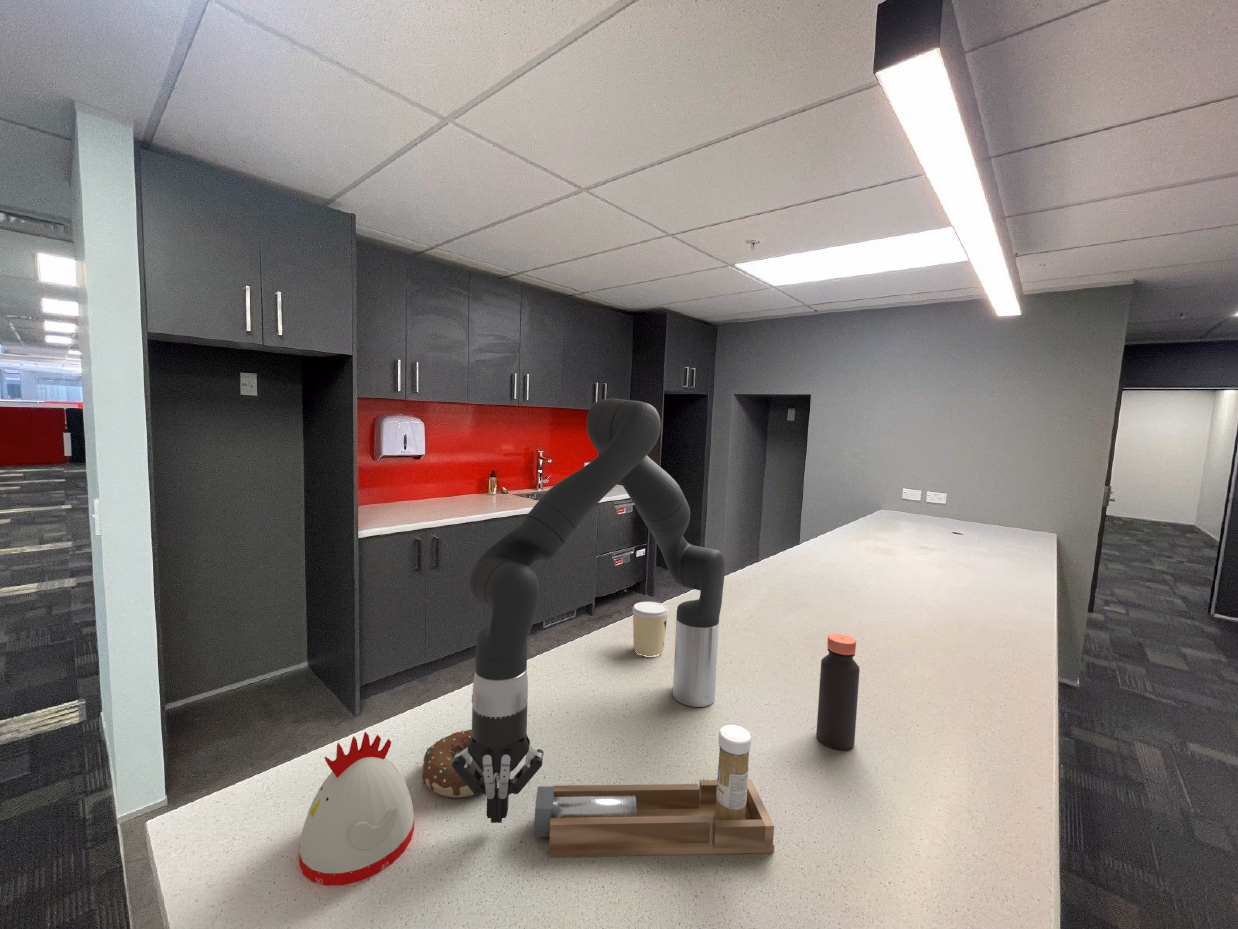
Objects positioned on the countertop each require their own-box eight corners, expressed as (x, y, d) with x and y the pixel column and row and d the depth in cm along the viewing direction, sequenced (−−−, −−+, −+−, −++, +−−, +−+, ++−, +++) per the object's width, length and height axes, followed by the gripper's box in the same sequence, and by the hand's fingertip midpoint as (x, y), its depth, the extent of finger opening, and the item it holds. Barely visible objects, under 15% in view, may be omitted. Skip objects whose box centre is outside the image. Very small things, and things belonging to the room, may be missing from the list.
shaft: (536, 812, 74) (537, 786, 74) (633, 811, 75) (634, 785, 75) (534, 836, 70) (534, 809, 69) (636, 834, 71) (637, 807, 70)
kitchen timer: (288, 837, 69) (288, 732, 68) (391, 790, 79) (393, 697, 78) (316, 908, 59) (317, 785, 58) (430, 844, 69) (432, 738, 68)
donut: (417, 814, 74) (418, 781, 74) (424, 756, 87) (425, 728, 87) (515, 797, 79) (516, 766, 78) (508, 744, 92) (509, 718, 91)
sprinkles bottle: (710, 810, 76) (715, 723, 75) (739, 808, 76) (744, 723, 76) (719, 834, 71) (724, 742, 71) (750, 832, 72) (756, 741, 71)
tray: (552, 806, 77) (553, 781, 76) (751, 804, 79) (753, 779, 79) (548, 858, 67) (549, 830, 67) (774, 853, 70) (776, 826, 69)
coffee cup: (672, 656, 131) (674, 611, 130) (639, 661, 127) (641, 614, 127) (656, 642, 139) (658, 599, 139) (625, 646, 136) (627, 602, 135)
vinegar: (808, 733, 99) (814, 633, 98) (835, 727, 101) (842, 630, 100) (834, 754, 92) (841, 648, 91) (862, 747, 95) (870, 643, 94)
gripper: (549, 686, 75) (546, 799, 76) (458, 686, 74) (456, 800, 75) (546, 715, 67) (542, 839, 68) (444, 715, 66) (442, 841, 67)
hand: (497, 818), depth 71 cm, fingers closed
